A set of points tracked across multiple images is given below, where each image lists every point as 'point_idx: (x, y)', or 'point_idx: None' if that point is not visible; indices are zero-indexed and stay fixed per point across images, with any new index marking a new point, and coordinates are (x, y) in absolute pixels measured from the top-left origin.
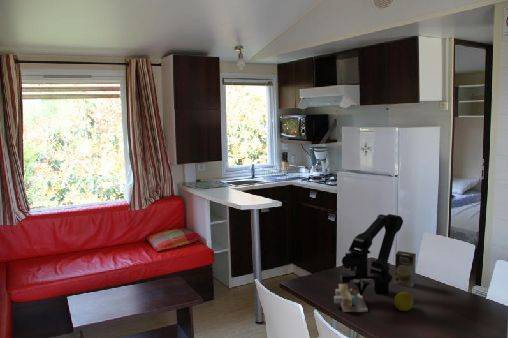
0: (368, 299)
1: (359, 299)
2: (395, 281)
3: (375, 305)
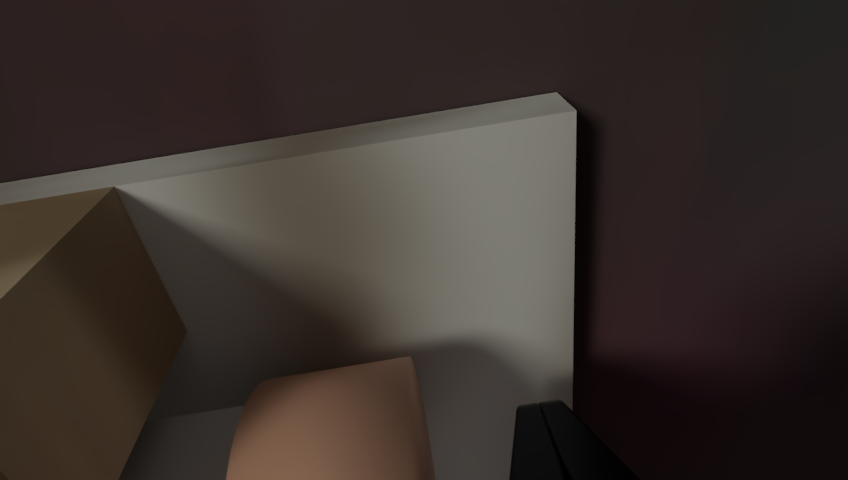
0: (679, 277)
1: (481, 434)
2: None
3: (725, 458)
